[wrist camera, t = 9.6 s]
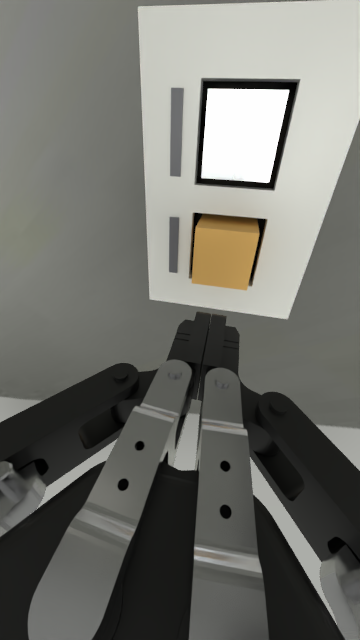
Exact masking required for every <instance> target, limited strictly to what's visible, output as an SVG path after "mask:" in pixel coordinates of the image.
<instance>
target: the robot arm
mask: <svg viewBox="0 0 360 640" xmlns="http://www.w3.org/2000/svg"><path fill="white" fill-rule="evenodd" d="M210 318H211V323H210ZM225 324H226V316H223V315H216V314H212V317H211V314H209V313H203V312H197V313H196V317H195V320H194V321H191V320H184V321H183V322H182V323H181V324H180V325H179V327H178V330H177V333H176V336H175V339H174V341H173V344H172V347H171V350H170V352H169V355H168V358H167V361H166V362H164V363H163V364H161V366H160V367H159V368H158V369H156V370H153V371H145V372H138V370H137V369H136V368H135V367H134V366H133V365H131V364H127V363H119V364H115V365H113V366H111V367H109V368H107V369H105V370H103V371H101V372H99V373H97V374H95V375H93V376H91V377H89V378H87V379H85V380H83V381H81V382H79V383H77V384H75V385H73V386H71V387H69V388H67V389H65V390H64V391H62V392H60V393H58V394H56V395H54V396H52V397H50V398H48V399H46V400H44V401H42V402H40V403H38V404H36V405H34V406H32V407H30V408H28V409H26V410H24V411H22V412H20V413H18V414H16V415H14V416H12V417H10V418H8V419H6V420H4V421H2V422H1V423H0V640H360V471H359V470H358V469H357V468H356V467H355V466H354V465H353V464H352V463H351V462H350V460H348V458H347V457H346V456H345V455H344V454H343V453H342V452H341V451H340V450H339V449H338V448H337V447H336V446H335V445H334V444H333V443H332V442H331V441H330V440H329V439H328V438H327V437H326V436H325V435H324V434H323V433H322V432H321V430H320V429H318V427H317V426H316V425H315V424H314V423H313V422H312V421H311V420H310V419H309V418H308V417H307V416H306V415H305V414H304V413H303V412H302V411H301V410H300V409H299V408H298V407H297V406H296V405H295V404H294V403H293V401H292V400H290V399H289V398H288V397H287V396H285V395H283V394H281V393H277V392H267V393H264V394H263V395H260V394H258V393H256V392H254V391H252V390H250V389H248V388H247V387H246V386H244V385H243V383H242V382H241V381H240V379H239V376H238V363H239V333H238V331H237V329H236V328H235V327H229V326H225ZM209 326H210V328H209ZM200 378H201V380H200ZM199 383H200V388H199ZM198 389H199V395H198V400H201V401H202V403H201V409H200V417H199V428H198V440H197V452H196V463H195V470H191V471H181V470H177V469H176V468H174V467H173V465H174V460H175V456H176V452H177V449H178V445H179V442H180V438H181V435H182V432H183V429H184V425H185V421H186V418H187V415H188V411H189V409H190V405H191V400H192V399H195V400H196V399H197V394H198ZM117 438H118V439H117ZM116 439H117V442H116V443H115V445H114V448H113V449H112V451H111V453H110V455H109V457H108V459H107V461H104V462H102V463H100V464H98V465H96V466H94V467H93V468H91V469H90V470H88V471H87V472H86V473H84V474H83V475H82V476H80V477H79V478H78V479H76V480H75V481H74V482H72V483H71V484H70V485H68V486H67V487H66V488H64V489H63V490H62V491H60V492H59V493H58V494H56V495H55V496H54V497H52V498H51V499H50V500H48V501H47V502H46V503H45V504H43V505H42V506H41V507H39V508H38V509H37V507H38V505H39V504H40V502H41V501H42V499H43V497H44V494H45V490H46V487H47V486H48V485H50V484H52V483H53V482H54V481H56V480H57V479H59V478H60V477H62V476H63V475H65V474H66V473H68V472H69V471H71V470H72V469H73V468H75V467H76V466H78V465H79V464H81V463H82V462H84V461H85V460H87V459H88V458H90V457H91V456H93V455H94V454H95V453H97V452H98V451H100V450H101V449H103V448H104V447H106V446H107V445H109V444H110V443H112V442H113V441H115V440H116ZM250 457H251V459H252V460H253V461H254V463H255V464H256V466H257V467H258V469H259V470H260V472H261V473H262V475H263V476H264V478H265V479H266V481H267V482H268V483H269V485H270V487H271V488H272V489H273V491H274V492H275V494H276V495H277V497H278V498H279V500H280V501H281V503H282V504H283V506H284V507H285V509H286V510H287V512H288V513H289V514H290V516H291V518H292V519H293V521H294V522H295V523H296V525H297V526H298V528H299V529H300V531H301V532H302V534H303V535H304V537H305V538H306V540H307V541H308V543H309V544H310V546H311V547H312V548H313V550H314V552H315V553H316V554H317V556H318V557H319V559H320V560H321V562H322V564H321V567H320V581H321V586H322V590H323V593H324V595H325V597H326V599H327V601H328V603H329V605H330V607H331V609H332V611H333V614H334V616H335V619H336V622H337V625H336V623H335V621H334V620H333V618H332V616H331V615H330V613H329V611H328V610H327V608H326V606H325V604H324V603H323V601H322V600H321V598H320V596H319V594H318V593H317V591H316V589H315V588H314V586H313V584H312V583H311V581H310V579H309V578H308V576H307V574H306V573H305V571H304V569H303V567H302V566H301V564H300V562H299V561H298V559H297V558H296V556H295V554H294V552H293V551H292V549H291V547H290V546H289V544H288V542H287V541H286V539H285V537H284V535H283V534H282V532H281V530H280V529H279V527H278V526H277V524H276V522H275V520H274V519H273V517H272V515H271V514H270V513H269V511H268V510H267V509H266V507H265V506H264V505H263V504H262V503H261V502H260V501H259V500H258V499H257V498H256V497H255V496H254V495H253V490H252V478H251V467H250ZM36 509H37V510H36ZM33 511H34V512H33ZM32 512H33V513H32ZM30 513H31V514H30ZM28 515H29V516H28Z"/></svg>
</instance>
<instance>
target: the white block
mask: <svg viewBox="0 0 360 640" xmlns="http://www.w3.org/2000/svg"><path fill="white" fill-rule="evenodd" d="M288 94H289V90H261V89H208V94H207V107H206V120H205V133H204V147H203V160H202V173H201V178H208V179H223V180H237V181H252V182H266V183H269V181H270V176H271V172H272V167H273V163H274V158H275V154H276V149H277V144H278V140H279V135H280V131H281V126H282V122H283V117H284V112H285V108H286V103H287V99H288Z"/></svg>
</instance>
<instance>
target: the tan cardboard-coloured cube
mask: <svg viewBox="0 0 360 640" xmlns="http://www.w3.org/2000/svg"><path fill="white" fill-rule="evenodd" d="M259 234H260V233H259V227H258V221H257V218H246V217H235V216H224V215H212V214H203V215H202V217H201V219H200V220H199V222H198V224H197V226H196V227H195V241H194V255H193V269H192V283H193V284H201V285H208V286H216V287H224V288H231V289H239V290H246V291H247V288H248V283H249V279H250V274H251V270H252V266H253V261H254V257H255V252H256V248H257V243H258V239H259Z"/></svg>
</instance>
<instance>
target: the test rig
mask: <svg viewBox="0 0 360 640" xmlns="http://www.w3.org/2000/svg"><path fill="white" fill-rule="evenodd" d="M138 23H139V47H140V72H141V97H142V121H143V146H144V171H145V196H146V220H147V245H148V270H149V295H150V299H151V300H158V301H165V302H172V303H179V304H186V305H192V306H199V307H206V308H213V309H220V310H227V311H234V312H241V313H248V314H255V315H262V316H269V317H275V318H282V319H288V317H289V314H290V311H291V308H292V305H293V303H294V300H295V297H296V294H297V292H298V289H299V286H300V283H301V280H302V278H303V275H304V272H305V269H306V267H307V264H308V261H309V258H310V255H311V253H312V250H313V247H314V244H315V242H316V239H317V236H318V233H319V230H320V228H321V225H322V222H323V219H324V216H325V214H326V211H327V208H328V205H329V203H330V200H331V197H332V194H333V191H334V189H335V186H336V183H337V180H338V178H339V175H340V172H341V169H342V166H343V164H344V161H345V158H346V155H347V153H348V150H349V147H350V144H351V141H352V139H353V136H354V133H355V130H356V128H357V125H358V122H359V119H360V0H324V1H293V2H262V3H232V4H201V5H170V6H139V7H138ZM203 81H245V82H298V84H297V88H296V92H295V97H294V101H293V105H292V110H291V114H290V118H289V123H288V127H287V131H286V136H285V140H284V144H283V149H282V153H281V157H280V162H279V166H278V170H277V175H276V179H275V183H274V188H273V189H271V188H257V187H243V186H229V185H216V184H202V183H196V182H197V167H198V152H199V137H200V122H201V107H202V92H203ZM194 212H195V213H206V214H217V215H228V216H240V217H251V218H262V219H266V222H265V227H264V231H263V235H262V240H261V244H260V249H259V253H258V257H257V262H256V266H255V270H254V275H253V278H250V279H249V283H248V288H247V291H246V290H239V289H231V288H224V287H216V286H208V285H201V284H193V283H192V271H191V256H192V241H193V227H194Z"/></svg>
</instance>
